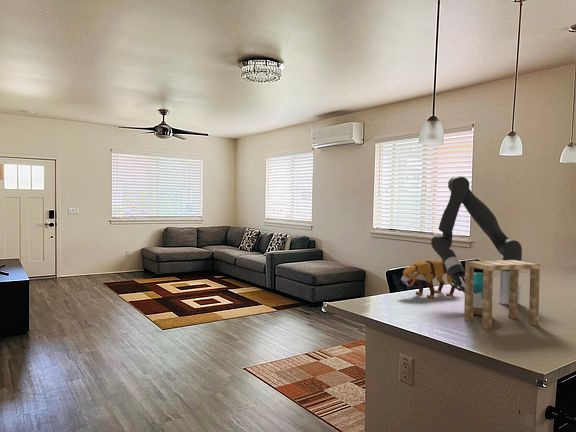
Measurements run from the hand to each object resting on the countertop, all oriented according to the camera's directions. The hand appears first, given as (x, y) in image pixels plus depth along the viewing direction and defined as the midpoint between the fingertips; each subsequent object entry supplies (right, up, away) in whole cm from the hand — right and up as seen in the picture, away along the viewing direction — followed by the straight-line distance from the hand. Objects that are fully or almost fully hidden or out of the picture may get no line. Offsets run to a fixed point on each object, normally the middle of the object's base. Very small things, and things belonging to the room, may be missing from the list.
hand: (470, 297), depth 207 cm
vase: (+1, -7, -5) cm, 9 cm away
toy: (-6, -6, +38) cm, 39 cm away
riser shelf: (+5, -7, -19) cm, 21 cm away
